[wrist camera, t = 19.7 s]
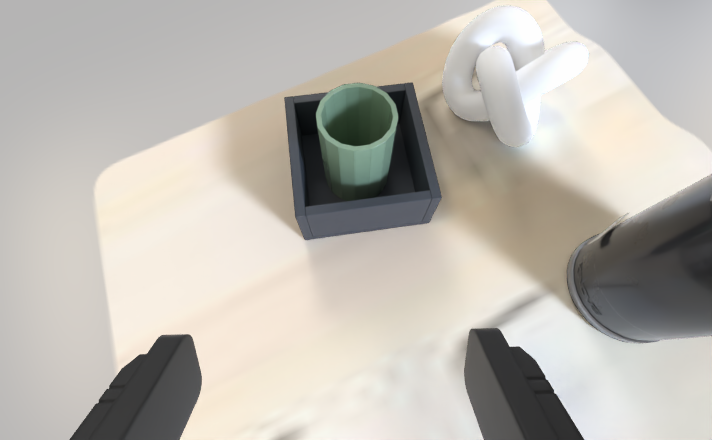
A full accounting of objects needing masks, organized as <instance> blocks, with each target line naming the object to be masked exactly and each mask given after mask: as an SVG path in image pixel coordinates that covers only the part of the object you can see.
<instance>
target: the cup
mask: <svg viewBox="0 0 712 440" xmlns="http://www.w3.org/2000/svg"><path fill="white" fill-rule="evenodd" d="M316 120H317V128H318V134H319V140H320V146H321V152H322V158H323V164H324V170H325V176H326V181H327V184H328V186H329V188H330V189H331V191H332V192H333V193H334V194H335V195H336V196H338V197H339V198H341V199H343V200H345V201H352V200H360V199H367V198H375V197H376V196H378V195H379V194H380V193H381V192H382V191H383V189H384V188H385V186H386V184H387V181H388V176H389V171H390V165H391V159H392V153H393V147H394V141H395V136H396V130H397V124H398V113H397V108H396V105H395V103H394V102H393V100H392V99H391V98H390V97H389V95H388V94H387V93H386V92H384V91H382V90H381V89H379V88H377V87H376V86H373V85H368V84H363V83H352V84H344V85H342V86H339V87H337V88H335V89H333V90H331V91H330V92H329V93H328V94H327V95H326V96H325V97H324V98H323V99H322V100H321V101H320V103H319V106H318V109H317V112H316Z"/></svg>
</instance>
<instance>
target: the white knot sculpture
mask: <svg viewBox="0 0 712 440" xmlns="http://www.w3.org/2000/svg"><path fill="white" fill-rule="evenodd" d="M498 42H502V43H504V44H505V45H506V46H507V49H504V48H502V47H501V46H492V45H493V44H495V43H498ZM490 46H492V47H490ZM588 56H589V52H588V50H587V48H586V46H585V45H583V44H581V43H579V42H577V41H573V42H565V43H562V44H560V45H557V46H555V47H552V48H549V49H547V50H544V42H543V37H542V33H541V30H540V28H539V26H538V24H537V23H536V21H535V20H534V18H533V17H532V16H531V15H530V14H529V13H528V12H527V11H525V10H523V9H521V8H520V7H516V6H511V5H505V6H497V7H494V8H491V9H488V10H486V11H485V12H483V13H481V14H480V15H478V16H477V17H476V18H474V19H473V20H472V21H471V22H470V23H469V24H468V25H467V26H466V27H465V28H464V29H463V31H462V32H461V33H460V34H459V36H458V37H457V39H456V41H455V42H454V44H453V46H452V47H451V50H450V52H449V54H448V57H447V59H446V63H445V67H444V71H443V80H442V85H443V94H444V97H445V100H446V102H447V104H448V106H449V108H450V109H451V110H452V111H453V112H454V113H455V114H456V115H457V116H459V117H460V118H462V119H465V120H468V121H488V120H490V122H491V125H492V127H493V129H494V132H495V133H496V135H497V137H498V138H499V140H500V141H501V142H503V143H504V144H506V145H507V146H509V147H520V146H522V145H524V144H526V143H528V142H529V141H530V140H531V138H532V137H533V136H534V134H535V132H536V128H537V124H538V118H539V110H540V99H541V95H542V94H544V93H546V92H548V91H550V90H552V89H554V88H556V87H558V86H559V85H561V84H563V83H565V82H567V81H568V80H570V79H572V78H573V77H575V76H577V75H578V74H579V73H580V72H581V71H582V70H583V68H584V67H585V66H586V64H587V63H588ZM475 66H476V73H477V78H478V82H479V84H480V88H481V90H480V91H477V90H475V89H474V88H473V86H472V75H473V72H474V68H475Z"/></svg>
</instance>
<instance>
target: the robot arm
mask: <svg viewBox="0 0 712 440" xmlns="http://www.w3.org/2000/svg"><path fill="white" fill-rule="evenodd" d="M629 213H630V212H629ZM629 213H628V214H629ZM626 215H627V214H626ZM626 215H624V216H622V217H620V218H619V219H618V220H617V221H615V222H614V223H613V224H612V225H611V226H609V227H608V228H607V229H606V230H605V231H603V232H602V233H601V234H598V235H595V236H593V237H591V238H589V239H588V240H586V241H584V242H583V243H581V244H580V245H579V246H578V247H577V248H576V249H575V251H574V252H573V254H572V256H571V258H570V260H569V263H568V268H567V282H568V287H569V291H570V294H571V297H572V299H573V301H574V303H575V305H576V306H577V308H578V310H579V311H580V312H581V314H582V315H583V316H584V317H585V318H586V320H587V321H588V322H589V323H591V324H592V325H593V326H594V327H595V328H597V329H598V330H599V331H601V332H603V333H604V334H606V335H608V336H610V337H612V338H614V339H617V340H620V341H624V342H629V343H649V342H656V341H660V340H668V339H682V338H694V337H705V336H712V174H711V175H709V176H707V177H705V178H703V179H701V180H700V181H698V182H696V183H694V184H692V185H690V186H688V187H687V188H685V189H683V190H681V191H679V192H677V193H675V194H674V195H672V196H670V197H668V198H666V199H664V200H662V201H661V202H659V203H657V204H655V205H653V206H651V207H649V208H648V209H646V210H644V211H642V212H640V213H638V214H637V215H635V216H633V217H631V218H629V219H627V220H625V221H624V222H622V223H620V224H618V225H616V226H614V225H615V224H617V223H618V222H619V221H620V220H621V219H623V218H624V217H625V216H626ZM613 226H614V227H613ZM464 377H465V385H466V389H467V393H468V396H469V399H470V401H471V404H472V407H473V410H474V413H475V416H476V418H477V421H478V424H479V427H480V430H481V433H482V436H483V438H484V440H584V439H583V437H582V435H581V434H580V432H579V430H578V429H577V427H576V426H575V424H574V422H573V421H572V419H571V417H570V416H569V414H568V413H567V411H566V409H565V408H564V406H563V404H562V403H561V401H560V400H559V398H558V396H557V395H556V394H554V390H553V388H552V387H551V385H550V383H549V382H548V380H546V379H545V375H544V374H543V372H542V370H541V369H540V367H539V365H538V364H537V362H536V361H535V360H534V359H533V358H532V357H531V356H530V355H529V354H527V353H526V352H525V351H524V350H523V349H522V348H520V347H509V345H508V343H507V342H506V340H505V338H504V336H503V334H502V333H501V331H500V330H499V329H498V328H485V329H471V330H470V332H469V337H468V345H467V353H466V360H465V368H464ZM201 384H202V376H201V371H200V367H199V362H198V358H197V354H196V350H195V346H194V342H193V339H192V337H191V335H188V334H186V335H161V336H160V337H159V338H158V339H157V340H156V342H155V343H154V345H153V346H152V347H151V349H150V350H149V352H148V353H147V354H140V355H139V356H137V357H136V358H135V359H134V360H132V361H131V362H130V363H129V364H127V365H126V366H125V367H124V368H122V369H121V371H120V372H119V373H118V375H117V376H116V377H115V379H114V380H113V382H112V383H111V384H110V386H109V389H107V390H106V391H105V392H104V394H103V395H102V397H101V398H100V399H99V403H98V404H96V405H95V406H94V407H93V409H92V410H91V411H90V413H89V414H88V415H87V417H86V418H85V419H84V421H83V422H82V424H81V425H80V426H79V428H78V429H77V430H76V432H75V433H74V434H73V436H72V437H71V438H70V440H180V437H181V435H182V433H183V431H184V428H185V426H186V424H187V422H188V420H189V417H190V415H191V413H192V411H193V408H194V406H195V404H196V402H197V400H198V397H199V394H200V390H201Z"/></svg>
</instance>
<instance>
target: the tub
mask: <svg viewBox="0 0 712 440" xmlns="http://www.w3.org/2000/svg"><path fill="white" fill-rule="evenodd" d="M377 88H379V89H381V90H382V91H384V92H386V93H387V94H388V95H389V97H390V98H391V99H392V100H393V102H394V103H395V105H396V108H397V113H398V124H397V130H396V136H395V141H394V147H393V153H392V159H391V165H390V171H389V176H388V181H387V184H386V186H385V188H384V189H383V191H382V192H381V193H380V194H379V195H378V196H376V197H375V198H367V199H360V200H352V201H345V200H343V199H341V198H339V197H338V196H336V195H335V194H334V193H333V192H332V191H331V189H330V188H329V186H328V184H327V181H326V176H325V170H324V164H323V158H322V152H321V146H320V140H319V134H318V128H317V120H316V112H317V109H318V106H319V103H320V101H321V100H322V99H323V98H324V97H325V96H326V95H327V94H328V93H329V92H328V93H319V94H311V95H302V96H294V97H293V96H292V97H285V109H286V120H287V131H288V142H289V153H290V164H291V174H292V185H293V196H294V207H295V217H296V220H297V222H298V224H299V227H300V229H301V232H302V234H303V237H304V239H305V240H308V239H315V238H322V237H330V236H337V235H344V234H352V233H359V232H366V231H373V230H381V229H388V228H395V227H403V226H410V225H417V224H424V223H429V222H430V220H431V218H432V216H433V214H434V212H435V210H436V208H437V206H438V204H439V202H440V200H441V198H442V196H441V192H440V188H439V184H438V180H437V177H436V173H435V169H434V165H433V161H432V157H431V153H430V149H429V145H428V141H427V137H426V133H425V129H424V125H423V121H422V117H421V113H420V110H419V106H418V102H417V98H416V94H415V90H414V86H413V83H404V84H396V85H387V86H379V87H377Z"/></svg>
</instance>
